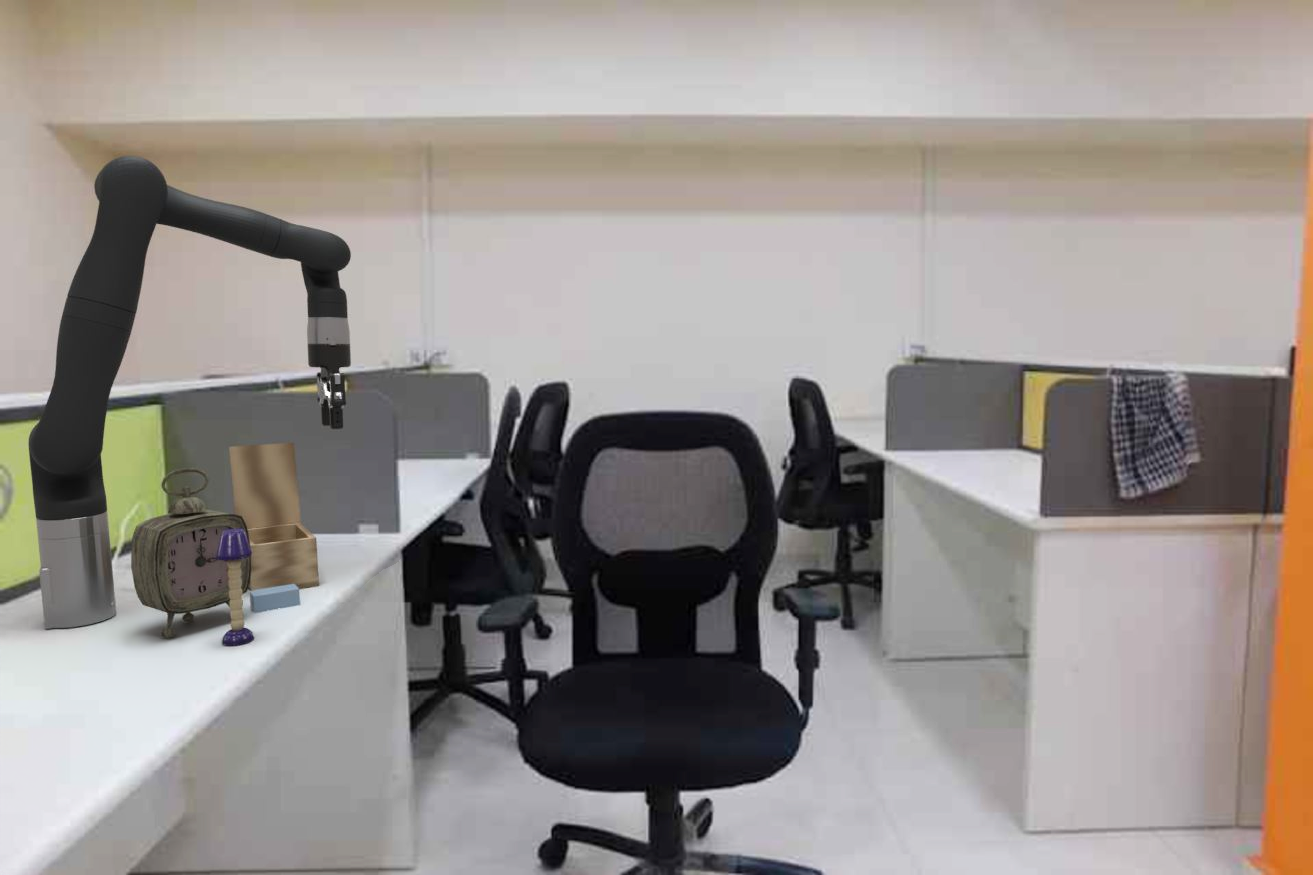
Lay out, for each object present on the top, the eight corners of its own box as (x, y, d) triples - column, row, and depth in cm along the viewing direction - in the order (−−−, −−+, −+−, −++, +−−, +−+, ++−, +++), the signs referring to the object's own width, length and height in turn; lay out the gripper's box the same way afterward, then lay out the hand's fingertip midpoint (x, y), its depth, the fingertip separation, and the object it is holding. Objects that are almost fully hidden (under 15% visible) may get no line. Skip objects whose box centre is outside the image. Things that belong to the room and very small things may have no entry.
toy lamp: (224, 636, 120) (217, 528, 118) (259, 632, 121) (252, 525, 119) (219, 647, 115) (211, 535, 113) (255, 643, 117) (247, 532, 115)
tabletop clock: (160, 644, 117) (147, 476, 114) (131, 633, 122) (117, 472, 119) (255, 616, 129) (245, 464, 126) (225, 607, 134) (214, 460, 131)
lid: (229, 446, 152) (229, 447, 153) (236, 529, 152) (236, 529, 152) (293, 442, 159) (293, 442, 159) (301, 522, 158) (300, 522, 159)
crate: (252, 596, 140) (249, 546, 139) (241, 575, 153) (237, 530, 152) (319, 585, 146) (316, 537, 145) (302, 566, 159) (299, 522, 158)
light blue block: (254, 614, 131) (253, 596, 131) (250, 608, 134) (249, 590, 134) (300, 606, 135) (299, 589, 135) (295, 600, 138) (294, 583, 138)
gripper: (301, 342, 155) (305, 425, 157) (314, 341, 143) (318, 430, 145) (342, 343, 159) (345, 423, 161) (357, 341, 147) (361, 428, 149)
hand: (332, 427), depth 153 cm, fingers open, 8 cm apart
